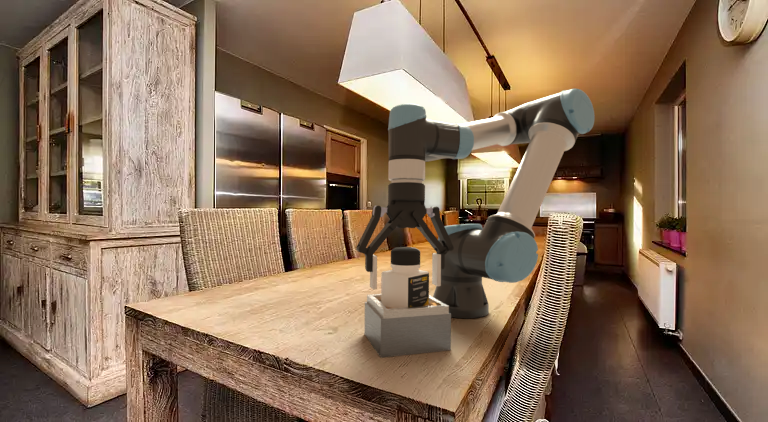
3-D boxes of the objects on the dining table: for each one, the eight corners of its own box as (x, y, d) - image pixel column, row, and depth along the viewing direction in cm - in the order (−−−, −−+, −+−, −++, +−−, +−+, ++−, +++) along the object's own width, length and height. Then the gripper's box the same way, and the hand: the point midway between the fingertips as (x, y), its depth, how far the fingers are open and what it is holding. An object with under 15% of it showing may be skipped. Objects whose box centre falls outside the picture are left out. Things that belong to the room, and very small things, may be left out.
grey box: (424, 328, 82) (425, 291, 82) (450, 350, 70) (451, 305, 70) (364, 334, 79) (364, 294, 79) (380, 357, 66) (380, 310, 66)
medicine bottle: (408, 313, 69) (409, 250, 69) (380, 306, 74) (380, 247, 74) (429, 306, 75) (430, 247, 75) (402, 300, 79) (402, 245, 79)
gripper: (453, 185, 81) (452, 280, 81) (342, 182, 74) (341, 285, 74) (470, 183, 74) (469, 287, 74) (349, 178, 67) (348, 293, 67)
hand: (405, 286), depth 74 cm, fingers open, 13 cm apart
